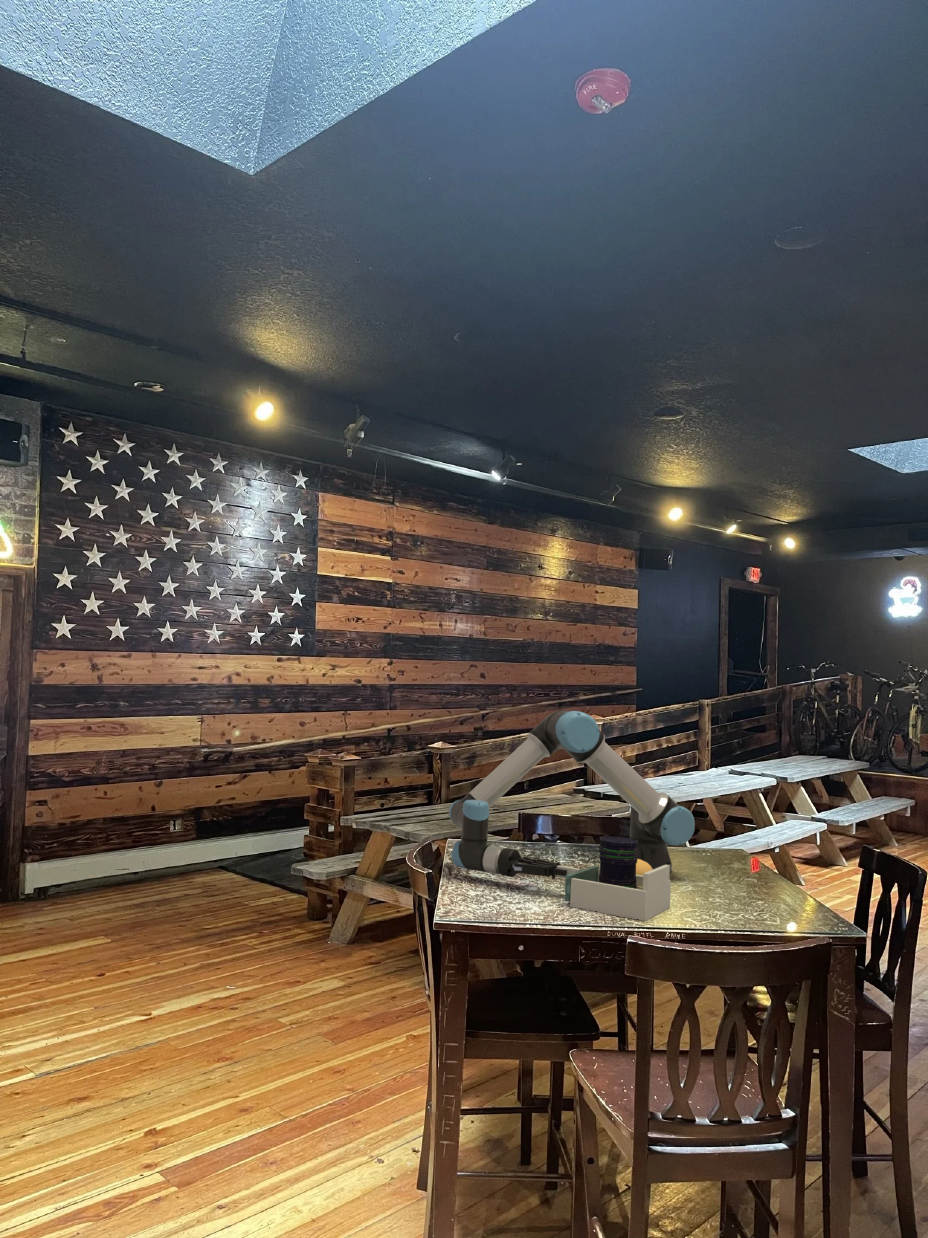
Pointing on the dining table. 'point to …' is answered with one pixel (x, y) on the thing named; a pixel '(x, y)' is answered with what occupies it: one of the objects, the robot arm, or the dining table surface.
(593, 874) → the tray
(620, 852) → the storage jar
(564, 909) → the dining table surface
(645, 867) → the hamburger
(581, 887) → the dock
